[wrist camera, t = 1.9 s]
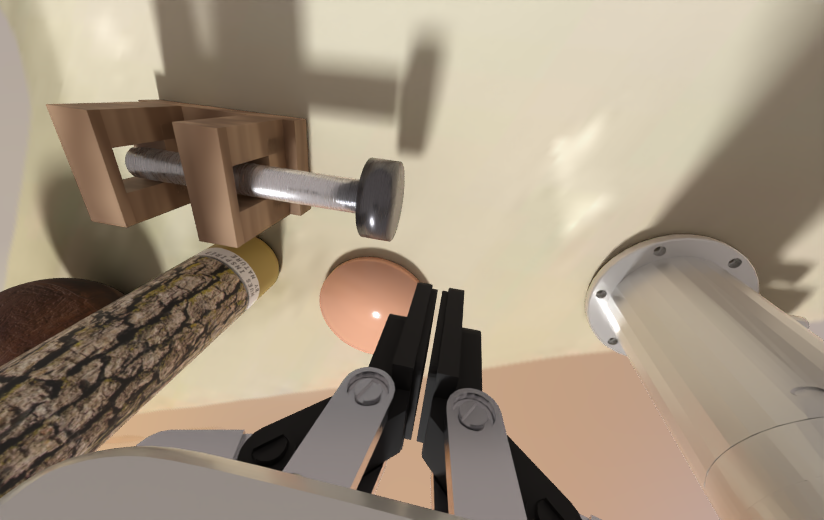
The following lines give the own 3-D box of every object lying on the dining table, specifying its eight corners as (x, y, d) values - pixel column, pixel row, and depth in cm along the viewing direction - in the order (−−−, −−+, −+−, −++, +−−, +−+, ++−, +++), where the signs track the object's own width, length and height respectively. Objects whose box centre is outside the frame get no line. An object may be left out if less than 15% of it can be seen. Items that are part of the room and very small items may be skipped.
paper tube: (226, 220, 34) (-242, 458, 12) (287, 246, 34) (-66, 529, 12) (222, 271, 37) (-150, 531, 15) (277, 295, 37) (-13, 587, 15)
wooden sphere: (49, 250, 41) (-156, 325, 27) (152, 261, 38) (-18, 349, 25) (101, 342, 47) (-43, 438, 34) (191, 356, 45) (73, 465, 32)
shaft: (407, 155, 24) (388, 171, 19) (400, 224, 27) (383, 254, 22) (161, 121, 26) (89, 127, 22) (178, 188, 29) (117, 207, 24)
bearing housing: (306, 118, 27) (232, 130, 19) (310, 208, 31) (250, 250, 23) (158, 99, 29) (32, 102, 21) (180, 187, 33) (80, 219, 25)
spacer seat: (438, 268, 32) (437, 273, 31) (423, 358, 37) (422, 364, 36) (321, 247, 33) (317, 251, 32) (324, 337, 39) (321, 343, 38)
